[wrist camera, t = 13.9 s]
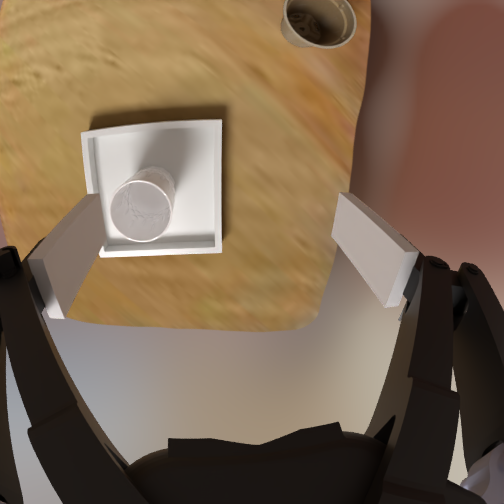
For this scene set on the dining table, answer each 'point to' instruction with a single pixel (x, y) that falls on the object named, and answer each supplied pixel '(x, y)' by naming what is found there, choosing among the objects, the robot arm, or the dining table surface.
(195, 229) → the tray
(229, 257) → the dining table surface
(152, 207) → the white cup
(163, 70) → the dining table surface
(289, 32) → the flower pot
